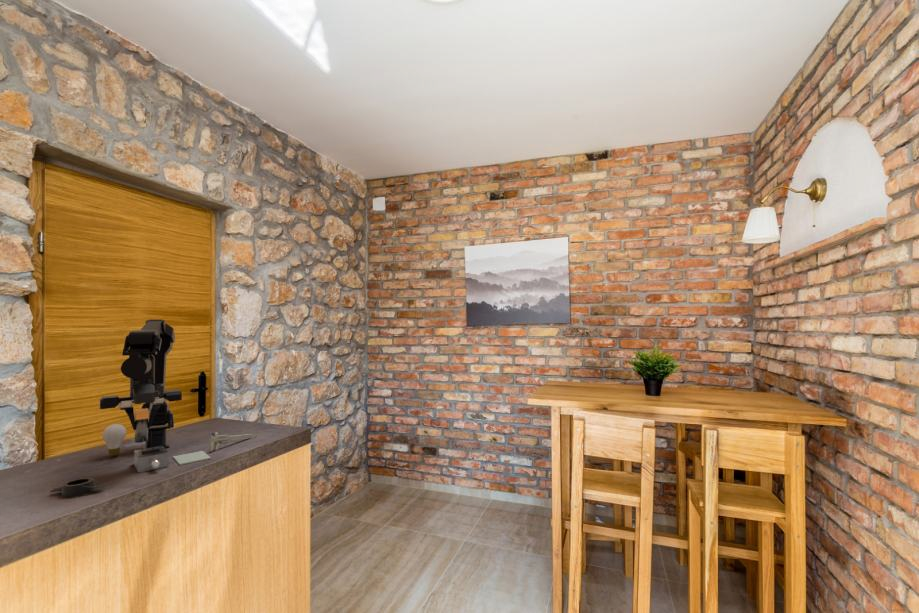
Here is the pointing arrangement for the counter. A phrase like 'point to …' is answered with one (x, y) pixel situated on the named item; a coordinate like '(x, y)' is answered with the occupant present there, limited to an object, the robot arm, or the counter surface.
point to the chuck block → (151, 458)
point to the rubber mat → (191, 457)
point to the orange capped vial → (141, 425)
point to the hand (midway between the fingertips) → (141, 428)
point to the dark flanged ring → (76, 487)
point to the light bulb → (114, 438)
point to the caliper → (225, 439)
